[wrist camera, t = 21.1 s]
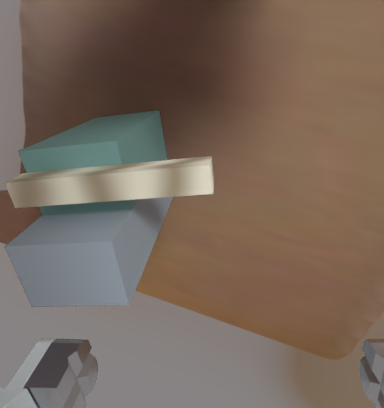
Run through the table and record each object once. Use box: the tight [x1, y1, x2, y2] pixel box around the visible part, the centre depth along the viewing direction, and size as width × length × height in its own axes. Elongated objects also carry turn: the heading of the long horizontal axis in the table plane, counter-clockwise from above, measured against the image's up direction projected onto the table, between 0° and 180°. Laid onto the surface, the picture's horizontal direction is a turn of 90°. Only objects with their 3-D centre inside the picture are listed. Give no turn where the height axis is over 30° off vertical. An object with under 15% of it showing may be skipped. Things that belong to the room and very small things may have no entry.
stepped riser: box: [5, 110, 173, 307], centre depth 37 cm, size 10×14×25 cm
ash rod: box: [5, 156, 214, 208], centre depth 28 cm, size 19×3×3 cm, turn 97°
